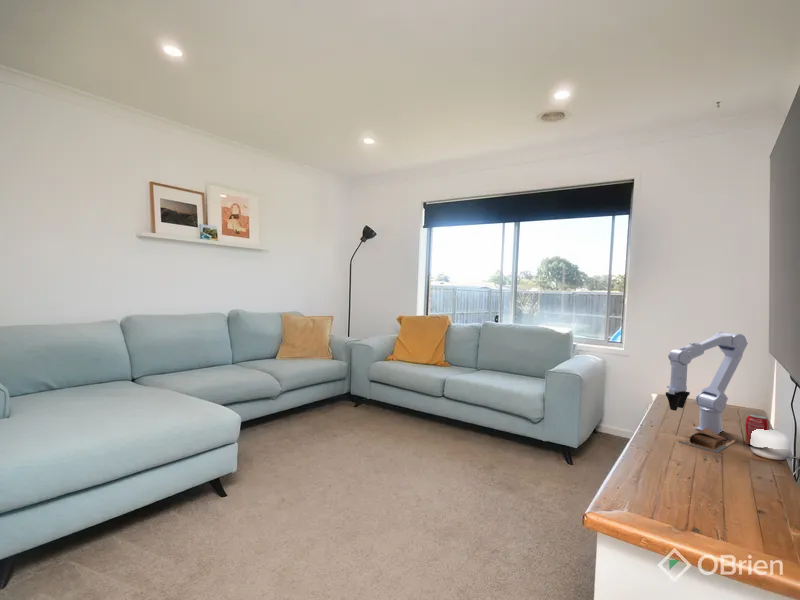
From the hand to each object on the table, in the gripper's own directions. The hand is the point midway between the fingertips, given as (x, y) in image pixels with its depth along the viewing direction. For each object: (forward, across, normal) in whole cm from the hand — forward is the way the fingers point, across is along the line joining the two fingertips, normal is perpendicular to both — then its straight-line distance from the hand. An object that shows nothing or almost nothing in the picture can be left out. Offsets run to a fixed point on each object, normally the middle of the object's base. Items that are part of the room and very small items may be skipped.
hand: (676, 408), depth 174 cm
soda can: (+10, -8, +25) cm, 28 cm away
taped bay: (+9, +4, +12) cm, 16 cm away
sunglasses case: (+10, +3, +13) cm, 16 cm away
